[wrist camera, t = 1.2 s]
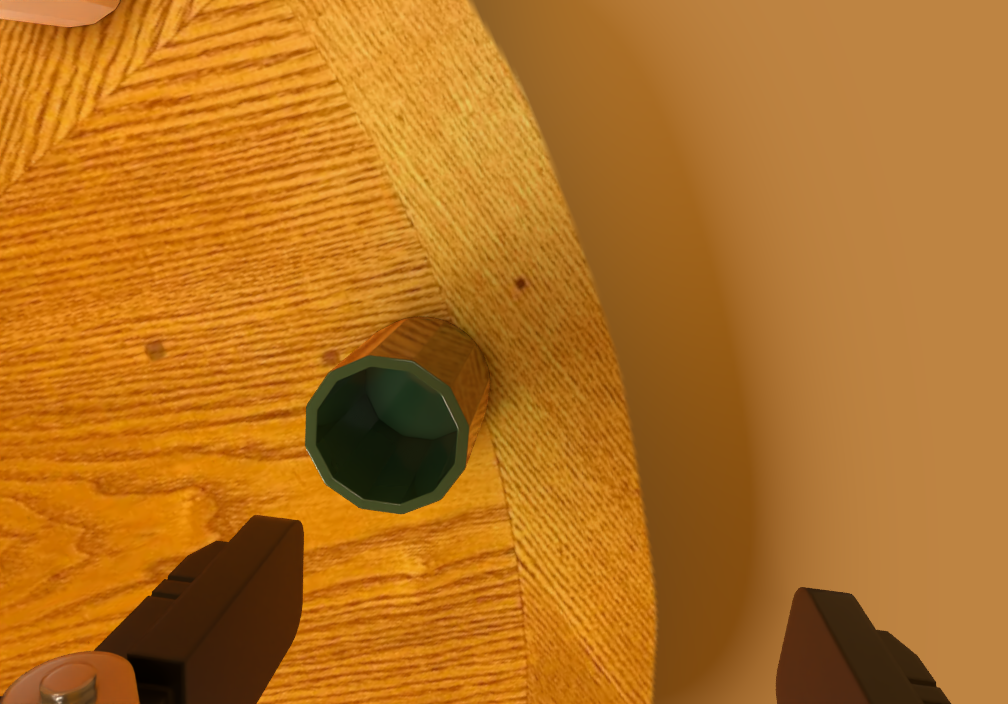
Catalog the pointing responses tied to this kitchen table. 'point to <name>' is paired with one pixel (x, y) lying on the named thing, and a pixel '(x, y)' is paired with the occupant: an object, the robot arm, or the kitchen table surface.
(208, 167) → the kitchen table surface
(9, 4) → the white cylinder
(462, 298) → the kitchen table surface
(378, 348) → the green faceted cup
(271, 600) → the robot arm
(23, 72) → the kitchen table surface
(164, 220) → the kitchen table surface
